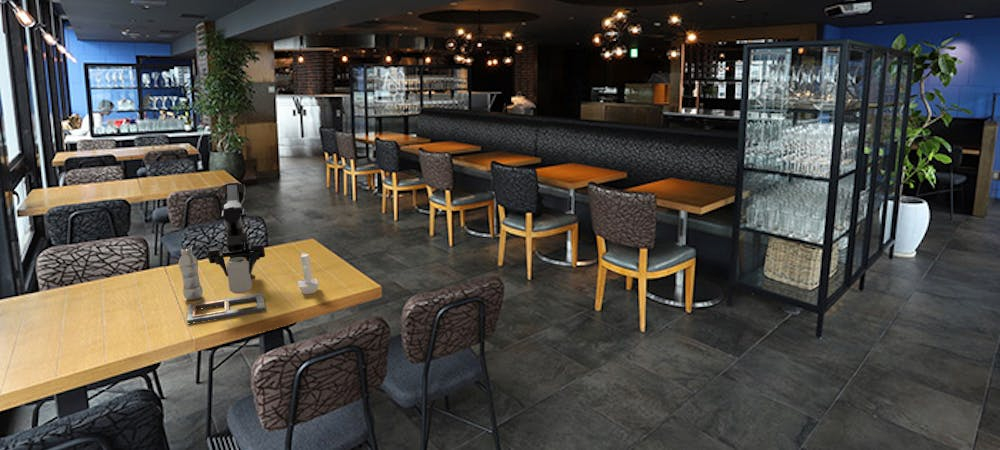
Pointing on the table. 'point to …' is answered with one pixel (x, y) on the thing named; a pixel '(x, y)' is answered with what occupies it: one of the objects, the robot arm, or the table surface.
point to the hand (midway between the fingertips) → (238, 274)
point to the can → (239, 275)
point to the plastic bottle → (190, 274)
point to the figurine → (307, 277)
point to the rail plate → (226, 308)
